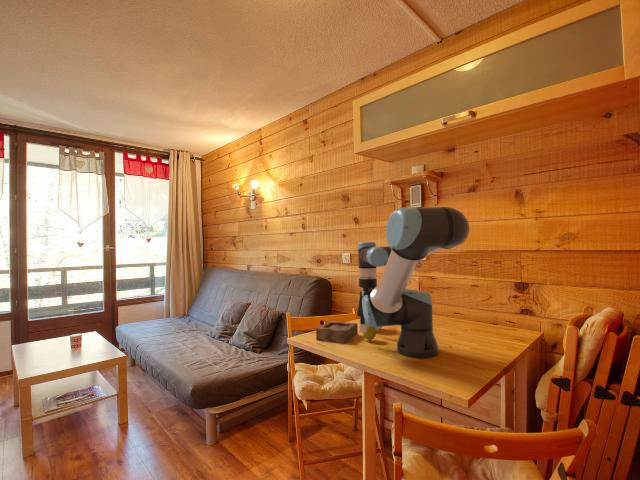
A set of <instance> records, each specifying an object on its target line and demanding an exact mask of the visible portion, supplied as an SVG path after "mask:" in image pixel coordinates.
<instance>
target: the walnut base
mask: <svg viewBox="0 0 640 480" xmlns="http://www.w3.org/2000/svg"><path fill="white" fill-rule="evenodd" d="M358 335H359V333H358V323H355V322H344V321H336V320H335V321H334V320H333V321H332V320H329V321H327V322H325V323H323V324H321V325H320V326H317V327H315V336H316V337H315V339H316V341H322V342H331V343H339V344H347V343H349V342H350V341H352V340H353V339H354V338H356V337H357V336H358Z"/></svg>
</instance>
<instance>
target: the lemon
mask: <svg viewBox="0 0 640 480" xmlns="http://www.w3.org/2000/svg"><path fill="white" fill-rule="evenodd" d="M376 333H377V332H376V329H375V327H369V326H368V325H367V332H362V335H363V337H364V338H365V339H366V340H367V341H369V342H371V341H372V340H374V339H375V337H376Z"/></svg>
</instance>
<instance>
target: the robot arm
mask: <svg viewBox="0 0 640 480" xmlns="http://www.w3.org/2000/svg"><path fill="white" fill-rule="evenodd" d="M386 223H387V224H386V231H385V237H386V241H387V244H388V246H377V243H376V242H375V241H360V242H359V243H358V245H357V253H358V254H357V255H358V256H357V258H358V269H357V272H358V277H359V279H358V287H359V288H362V291H361V290H360V291H359V300H358V307H357V308H358V309H357V316H358V317H359V332H362V333H363V332H367V325H368V326H369V327H382V328H384V327H393V326H400V334H399V336H398V341H397V344H396V351H397V352H398V353H399V354H400V355H403V356H406V357H410V358H416V359H417V358H419V359H421V358H422V359H423V358H427V359H428V358H433V357H436V356H438V355H439V346H438V342H437V340H436V339H437V338H436V337H435V334H434V325H433V324H434V323H433V299H432V295H431V294H430V293H429V292H426V291H423V290H417V289H416V290H415V289H409V288H408V289H407V285H408V284H409V281H410V279H411V277H412V275H413V273H414V272H415V271H414V270H415V269H416V266H417V264H419V263H420V261H422V260H423V259H425V258H426V257H428V256H429V255H432V254H435V253H436V252H438V251H440V250H451V249H454V248H456V247H458V246H461V245H462V244H463V243H464V242H465V241H466V240H467V238H468V237H469V234H470V223H469V221H468V219H467V217H466V216H465V214H464V213H463V212H462V211H459V210H458V209H456V208H453V207H449V206H439V207H438V206H435V207H433V206H431V207H414V206H407V207H400V208H397V209H395V210H393V211H392V213H391V214H390V215H389V218H388V220H387V222H386ZM383 266H385V267H384V270H383V272H382V275H381V277H380V281H379V282H378V283H377V267H383Z"/></svg>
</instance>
